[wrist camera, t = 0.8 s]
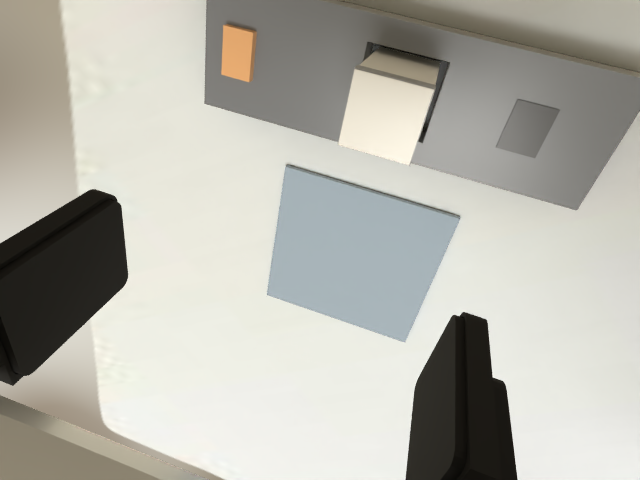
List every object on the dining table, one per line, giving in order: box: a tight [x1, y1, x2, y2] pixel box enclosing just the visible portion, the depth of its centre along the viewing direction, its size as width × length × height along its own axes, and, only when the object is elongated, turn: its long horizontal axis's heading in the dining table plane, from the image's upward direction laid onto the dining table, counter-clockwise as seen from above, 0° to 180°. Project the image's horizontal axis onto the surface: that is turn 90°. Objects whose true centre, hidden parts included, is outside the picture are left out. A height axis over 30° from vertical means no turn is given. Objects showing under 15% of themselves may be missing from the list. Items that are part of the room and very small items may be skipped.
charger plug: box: [338, 47, 441, 166], centre depth 25 cm, size 4×4×8 cm
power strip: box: [205, 0, 640, 210], centre depth 27 cm, size 26×8×3 cm, turn 80°
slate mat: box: [267, 165, 460, 342], centre depth 36 cm, size 14×14×1 cm
